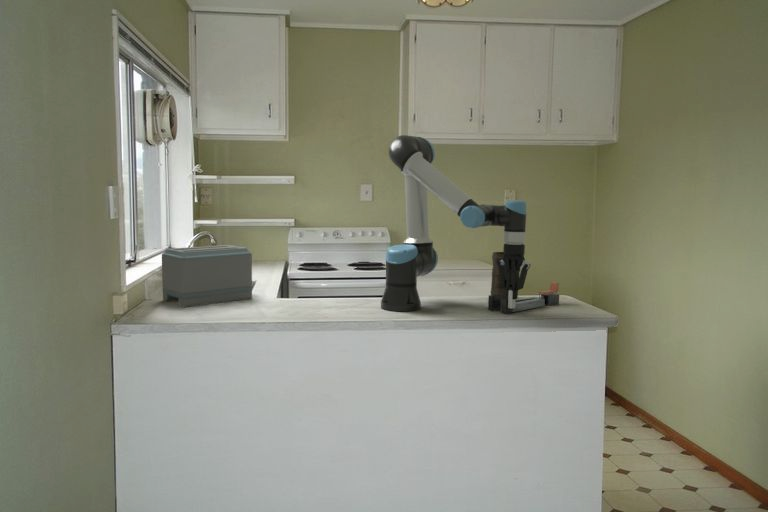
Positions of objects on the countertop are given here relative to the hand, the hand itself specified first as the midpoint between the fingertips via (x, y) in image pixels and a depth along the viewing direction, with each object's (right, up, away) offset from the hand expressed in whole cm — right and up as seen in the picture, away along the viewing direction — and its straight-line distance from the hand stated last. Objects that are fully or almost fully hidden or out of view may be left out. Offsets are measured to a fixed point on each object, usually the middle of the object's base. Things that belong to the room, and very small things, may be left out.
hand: (511, 307), depth 230 cm
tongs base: (+8, -1, +13) cm, 15 cm away
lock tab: (+18, +4, +19) cm, 27 cm away
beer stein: (+2, +1, +29) cm, 29 cm away
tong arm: (+6, -1, +8) cm, 10 cm away
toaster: (-115, +1, +21) cm, 117 cm away
